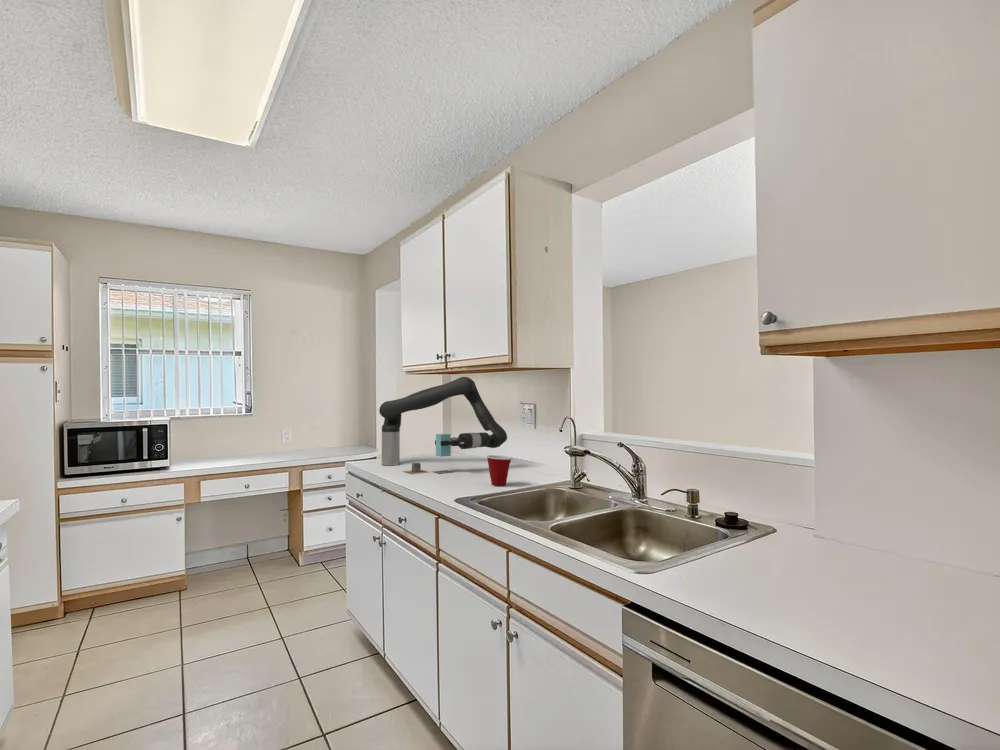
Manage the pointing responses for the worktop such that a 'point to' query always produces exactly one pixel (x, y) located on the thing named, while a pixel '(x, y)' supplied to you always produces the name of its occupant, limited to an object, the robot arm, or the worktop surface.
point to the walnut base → (416, 469)
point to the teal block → (440, 449)
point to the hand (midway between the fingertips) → (438, 443)
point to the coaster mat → (443, 472)
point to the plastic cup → (498, 469)
